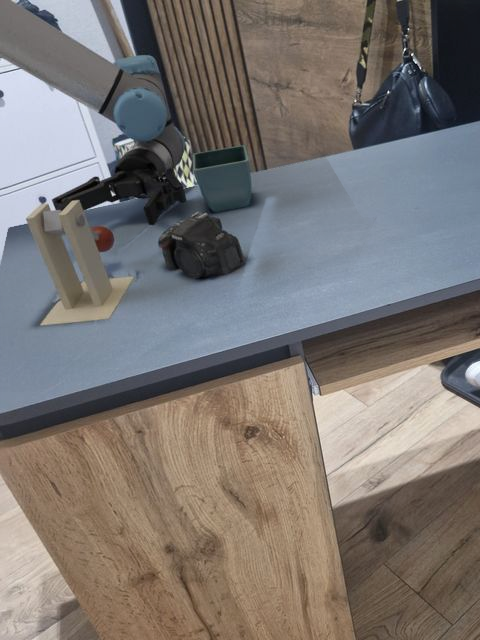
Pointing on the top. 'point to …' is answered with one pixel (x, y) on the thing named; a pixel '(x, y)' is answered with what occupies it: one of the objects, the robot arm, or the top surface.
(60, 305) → the stand
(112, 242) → the lever
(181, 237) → the camera
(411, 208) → the top surface
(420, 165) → the top surface
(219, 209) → the flower pot
